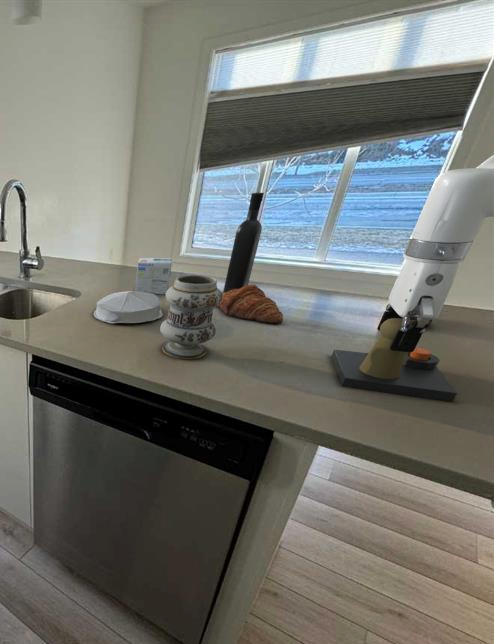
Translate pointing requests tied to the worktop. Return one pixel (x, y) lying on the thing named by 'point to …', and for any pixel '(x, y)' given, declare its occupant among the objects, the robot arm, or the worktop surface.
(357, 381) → the scale
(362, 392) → the worktop surface
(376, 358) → the cork
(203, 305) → the apothecary jar
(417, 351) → the button
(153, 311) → the food container
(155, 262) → the light bulb box
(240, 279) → the wine bottle
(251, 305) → the pastry
